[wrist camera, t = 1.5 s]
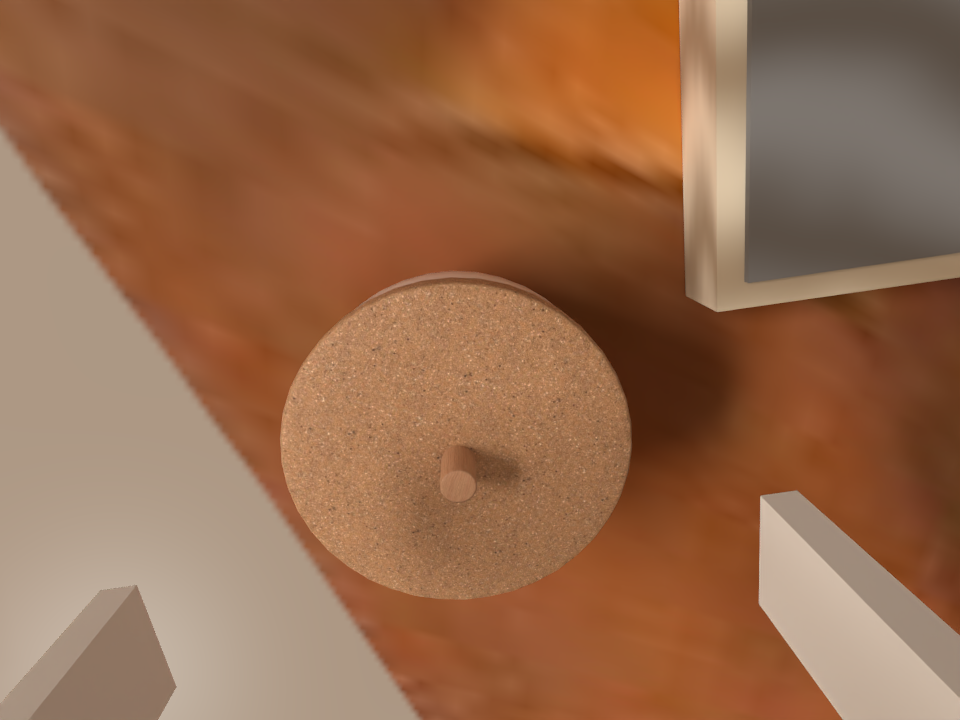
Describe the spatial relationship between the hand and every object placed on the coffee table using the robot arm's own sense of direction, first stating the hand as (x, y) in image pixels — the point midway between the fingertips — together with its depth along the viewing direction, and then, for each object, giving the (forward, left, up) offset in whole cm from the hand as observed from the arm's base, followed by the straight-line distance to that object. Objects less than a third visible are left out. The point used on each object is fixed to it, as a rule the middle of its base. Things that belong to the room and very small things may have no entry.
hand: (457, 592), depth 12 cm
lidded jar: (0, 0, -13) cm, 13 cm away
